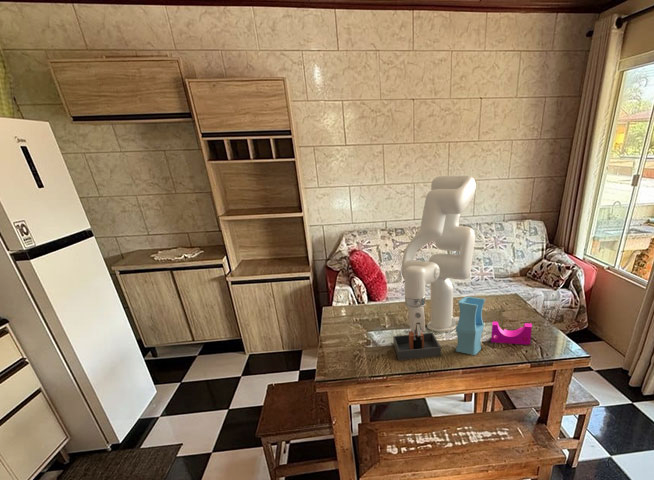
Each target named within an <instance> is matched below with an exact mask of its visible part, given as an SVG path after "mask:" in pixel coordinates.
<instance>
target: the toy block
mask: <svg viewBox="0 0 654 480" xmlns="http://www.w3.org/2000/svg"><path fill="white" fill-rule="evenodd" d="M532 331H533V323H530V322H525V323H524V324H523V326H521V327H518V328H516V329H513V330H509V329H506V328H503V329H502V328H501V327H500V325H499V321H494V320H493V321H492V324H491V336H490V343H496V344H509V345H510V344H513V345H526V346H529V345H531V339H532Z"/></svg>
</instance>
